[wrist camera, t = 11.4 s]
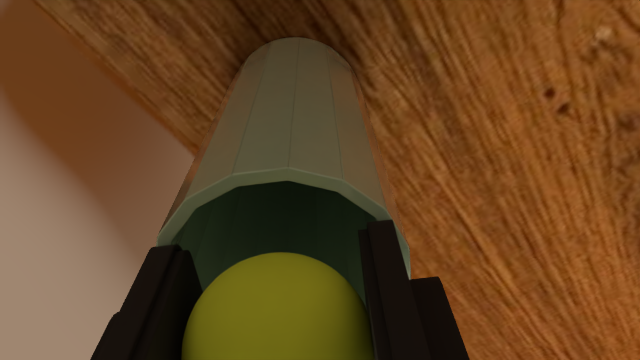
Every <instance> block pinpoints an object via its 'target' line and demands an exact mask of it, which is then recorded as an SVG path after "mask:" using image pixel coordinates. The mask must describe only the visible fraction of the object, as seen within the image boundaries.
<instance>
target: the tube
mask: <svg viewBox="0 0 640 360" xmlns="http://www.w3.org/2000/svg"><path fill="white" fill-rule="evenodd" d="M390 219H392V220H393V223H394V226H395V230H396V233H397V237H398V241H399V244H400V248H401V251H402V255H403V259H404V262H405V266H406V270H407V273H408V277H409V280H410V279H411V267H410V248H409V245H408V242H407V239H406V235H405V232H404V229H403V225H402V222H401V219H400V216H399V212H398V209H397V206H396V202H395V199H394V196H393V192H392V189H391V186H390V183H389V179H388V176H387V173H386V169H385V166H384V163H383V159H382V156H381V153H380V150H379V146H378V143H377V140H376V136H375V133H374V130H373V127H372V123H371V120H370V117H369V113H368V110H367V107H366V103H365V100H364V97H363V94H362V90H361V87H360V84H359V82H358V81H357V78H356V76H355V74H354V72H353V70H352V68H351V67H350V65H349V64H348V63H347V61H346V60H345V59H344V58H343V57H342V56H341V55H340V54H339V53H338V52H337V51H335V50H334V49H332V48H331V47H329V46H327V45H325V44H323V43H321V42H318V41H315V40H312V39H307V38H299V37H291V38H283V39H278V40H275V41H272V42H269V43H267V44H265V45H263V46H261V47H260V48H258V49H257V50H255V51H254V52H253V53H252V54H251V55H250V56H249V57H248V58H247V59H246V60H245V61H244V63H243V64H242V65H241V67H240V69H239V70H238V72H237V73H236V75H235V76H234V78H233V80H232V82H231V84H230V86H229V88H228V90H227V93H226V95H225V97H224V99H223V101H222V103H221V105H220V107H219V109H218V111H217V113H216V115H215V118H214V120H213V122H212V124H211V126H210V128H209V130H208V132H207V134H206V136H205V138H204V140H203V143H202V145H201V147H200V149H199V151H198V153H197V155H196V157H195V159H194V161H193V163H192V165H191V167H190V170H189V172H188V174H187V176H186V178H185V180H184V182H183V184H182V186H181V188H180V190H179V192H178V195H177V197H176V199H175V201H174V203H173V205H172V207H171V209H170V211H169V213H168V216H167V217H166V220H165V222H164V224H163V226H162V228H161V230H160V232H159V234H158V237H157V243H156V247H158V246H166V245H175V244H178V245H180V246H181V248H182V250H189V251H190V253H191V255H192V258H193V261H194V265H195V268H196V271H197V274H198V278H199V281H200V284H201V287H202V290H203V292H204V291H205V289H206V288H207V287H208V286H209V285H210V284H211V283H212V282H213V281H214V280H215V279H216V278H217V277H218V276H219V275H220V274H222V273H223V272H224V271H226V270H227V269H229V268H230V267H232V266H233V265H235V264H237V263H239V262H241V261H243V260H246V259H248V258H251V257H254V256H258V255H262V254H267V253H277V252H285V253H295V254H301V255H305V256H308V257H311V258H314V259H316V260H319V261H321V262H323V263H325V264H326V265H328V266H330V267H331V268H333V269H334V270H336V271H337V272H338V273H339V274H341V275H342V276H343V277H344V278H345V279H346V280H347V281H348V282H349V283H350V284H351V285H352V287H353V288H354V289H355V290H356V292H357V293H358V295H359V296H360V298H361V300H362V301H363V303H364V305H365V307H366V301H365V292H364V283H363V273H362V264H361V255H360V246H359V236H358V230H362V229H367V222H373V221H381V220H390Z"/></svg>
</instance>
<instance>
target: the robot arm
mask: <svg viewBox="0 0 640 360" xmlns="http://www.w3.org/2000/svg"><path fill="white" fill-rule="evenodd" d="M358 236H359V246H360V255H361V264H362V273H363V283H364V292H365V301H366V309H367V312H368V314H369V319H370V325H371V333H372V340H373V348H374V357H375V360H470V359H469V357H468V354H467V351H466V349H465V346H464V343H463V340H462V338H461V335H460V332H459V329H458V327H457V324H456V321H455V318H454V316H453V313H452V310H451V307H450V305H449V302H448V299H447V296H446V294H445V291H444V288H443V285H442V283H441V281H440V278H439V277H438V276H437V277H428V278H419V279H410V280H409V277H408V273H407V270H406V266H405V262H404V259H403V255H402V251H401V248H400V244H399V241H398V237H397V233H396V230H395V226H394V223H393V220H392V219H390V220H381V221H373V222H367V229H362V230H358ZM202 293H203V290H202V287H201V284H200V281H199V278H198V274H197V271H196V268H195V265H194V261H193V258H192V255H191V253H190V251H189V250H182V248H181V246H180V245H178V244H175V245H166V246H158V247H152V248H151V249H150V250H149V252H148V254H147V256H146V258H145V261H144V263H143V264H142V266H141V269H140V270H139V273H138V275H137V277H136V279H135V281H134V283H133V285H132V287H131V289H130V291H129V293H128V295H127V297H126V299H125V301H124V303H123V305H122V307H121V309H120V311H119V312H117V313H116V314H114V315H113V317H112V318H111V320H110V321H109V323H108V325H107V327H106V329H105V331H104V333H103V336H102V337H101V339H100V341H99V343H98V345H97V347H96V349H95V351H94V353H93V355H92V357H91V359H90V360H181V354H182V342H183V337H184V332H185V328H186V325H187V322H188V319H189V317H190V314H191V312H192V310H193V308H194V306H195V304H196V302H197V301H198V299H199V298H200V296H201V295H202Z"/></svg>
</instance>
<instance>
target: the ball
mask: <svg viewBox="0 0 640 360" xmlns="http://www.w3.org/2000/svg"><path fill="white" fill-rule="evenodd" d="M181 360H375V357H374V348H373V340H372V333H371V325H370V319H369V314H368V312H367V309H366V307H365V305H364V303H363V301H362V300H361V298H360V296H359V295H358V293H357V292H356V290H355V289H354V288H353V287H352V285H351V284H350V283H349V282H348V281H347V280H346V279H345V278H344V277H343V276H342V275H341V274H339V273H338V272H337V271H336V270H334V269H333V268H331V267H330V266H328V265H326V264H325V263H323V262H321V261H319V260H316V259H314V258H311V257H308V256H305V255H301V254H295V253H285V252H277V253H267V254H262V255H258V256H254V257H251V258H248V259H246V260H243V261H241V262H239V263H237V264H235V265H233V266H232V267H230V268H229V269H227V270H226V271H224V272H223V273H222V274H220V275H219V276H218V277H217V278H216V279H215V280H214V281H213V282H212V283H211V284H210V285H209V286H208V287H207V288H206V289H205V291H204V292H203V293H202V295H201V296H200V298H199V299H198V301H197V302H196V304H195V306H194V308H193V310H192V312H191V314H190V317H189V319H188V322H187V325H186V328H185V332H184V337H183V342H182V354H181Z"/></svg>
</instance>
